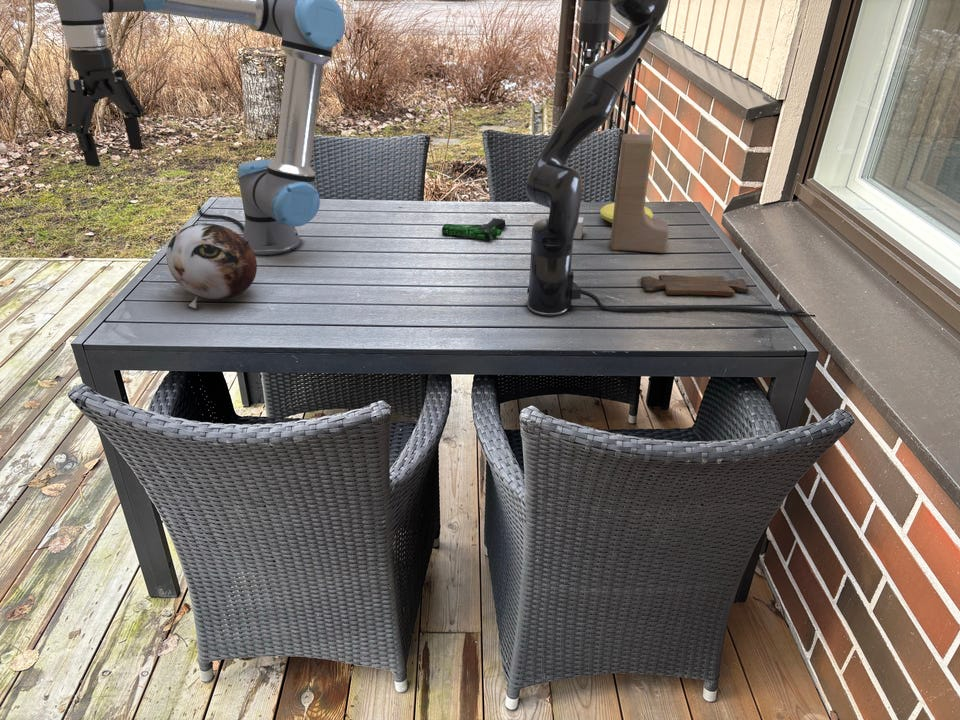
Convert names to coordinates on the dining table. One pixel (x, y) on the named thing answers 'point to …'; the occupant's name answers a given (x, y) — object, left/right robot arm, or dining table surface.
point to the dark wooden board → (694, 285)
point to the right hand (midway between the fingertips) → (588, 89)
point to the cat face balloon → (211, 261)
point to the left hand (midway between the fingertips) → (116, 157)
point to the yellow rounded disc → (609, 210)
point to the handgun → (476, 230)
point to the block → (579, 229)
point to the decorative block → (635, 200)
